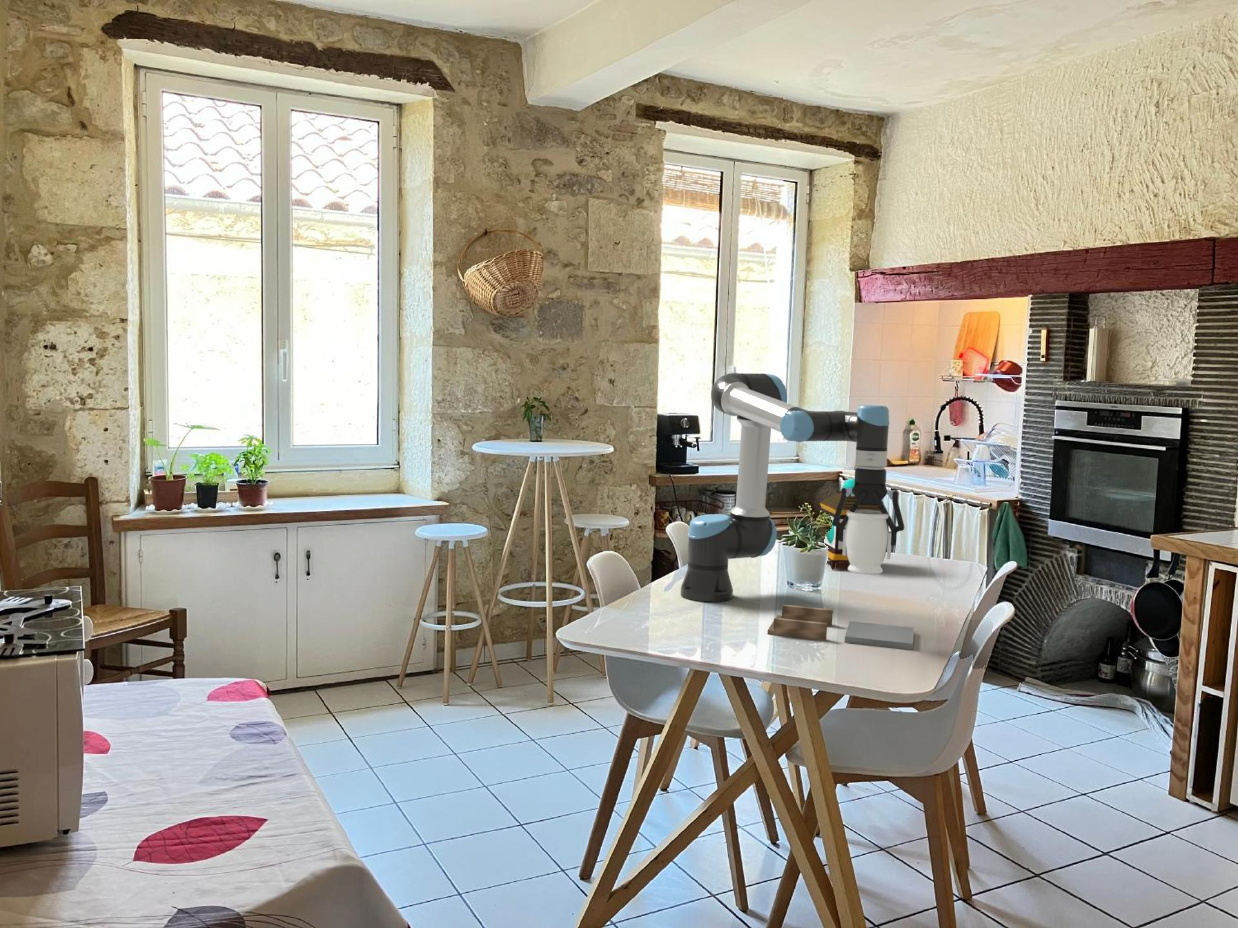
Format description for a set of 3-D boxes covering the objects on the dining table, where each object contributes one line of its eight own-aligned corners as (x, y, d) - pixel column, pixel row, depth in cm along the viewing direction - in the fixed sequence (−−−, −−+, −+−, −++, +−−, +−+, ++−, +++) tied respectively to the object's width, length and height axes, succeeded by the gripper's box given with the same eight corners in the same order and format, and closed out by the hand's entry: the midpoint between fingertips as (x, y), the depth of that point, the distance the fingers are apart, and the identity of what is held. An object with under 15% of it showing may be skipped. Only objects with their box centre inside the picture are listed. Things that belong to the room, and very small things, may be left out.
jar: (862, 576, 239) (865, 515, 238) (834, 568, 248) (837, 509, 247) (895, 573, 244) (898, 513, 243) (867, 566, 253) (870, 508, 252)
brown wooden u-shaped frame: (767, 633, 247) (768, 618, 247) (777, 618, 263) (777, 603, 262) (825, 640, 243) (826, 624, 242) (832, 624, 258) (832, 609, 258)
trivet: (844, 642, 242) (844, 636, 242) (849, 626, 257) (849, 620, 257) (912, 649, 237) (912, 643, 237) (913, 633, 252) (913, 627, 252)
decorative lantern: (811, 559, 348) (815, 474, 345) (865, 559, 350) (870, 475, 347) (829, 571, 328) (834, 481, 325) (886, 571, 330) (891, 482, 327)
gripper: (822, 466, 244) (818, 555, 246) (918, 471, 237) (913, 562, 239) (826, 464, 251) (822, 550, 253) (918, 468, 244) (914, 557, 246)
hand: (866, 556), depth 246 cm, fingers closed on jar, 10 cm apart
